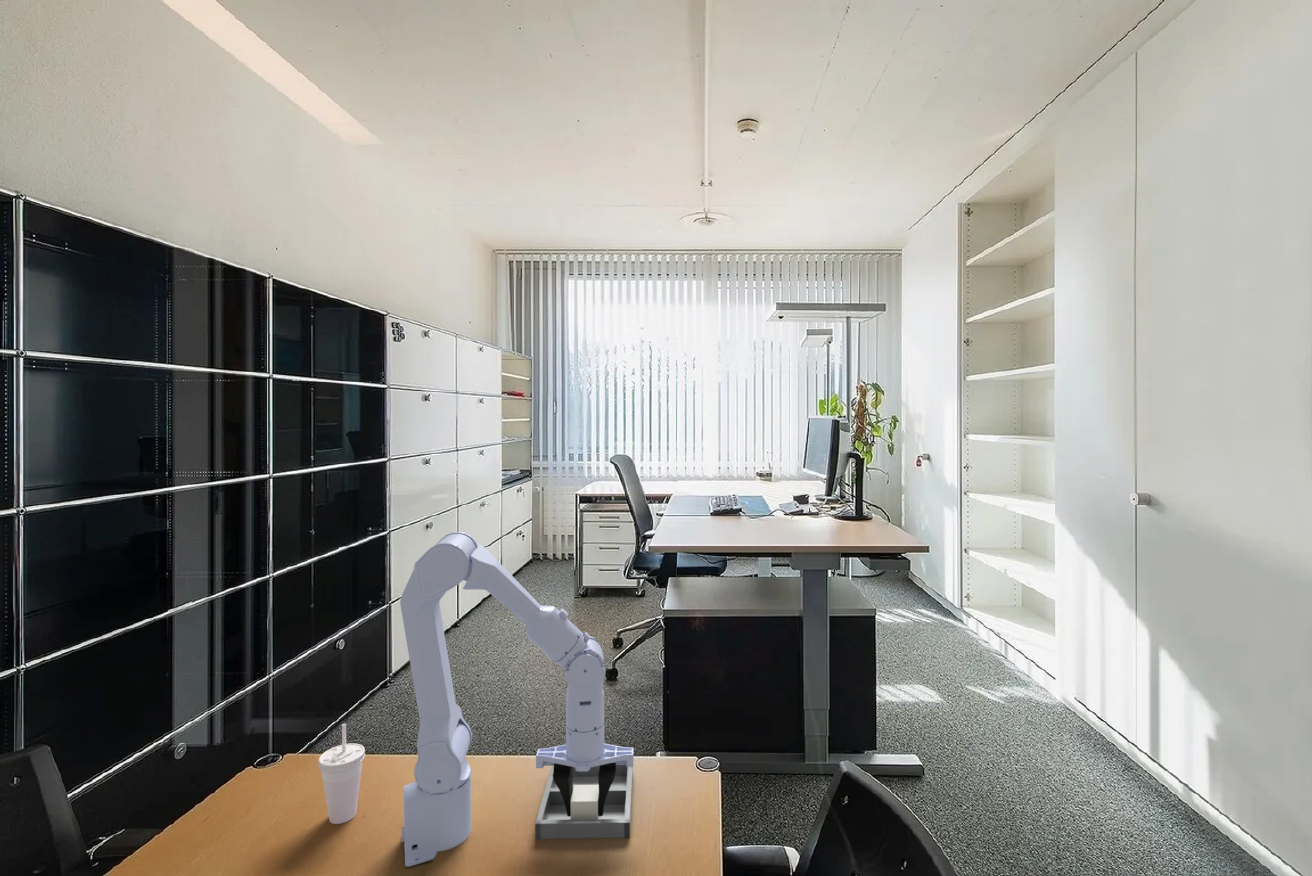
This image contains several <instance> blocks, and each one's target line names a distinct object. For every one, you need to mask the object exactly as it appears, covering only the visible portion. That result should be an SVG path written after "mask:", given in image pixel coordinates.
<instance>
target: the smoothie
mask: <svg viewBox="0 0 1312 876" xmlns="http://www.w3.org/2000/svg"><path fill="white" fill-rule="evenodd" d="M365 752H366V749H365V747H364V746H363V744H359V743H350V742H349V743H347V723H342V724H341V744H339V745H337V746H333V747H331V748H329V749H327V750H326V751H324V752H322V754H321V755H320V756H319V757H318V765H317V768H318V769H319V770H320V771H321V778H322V783H323V789H324V796H325V800H326V801H325V802H326V808H327V815H328V819H329V820H328V821H329V823H331V824H334V825H338V824H339V825H340V824H345V823H347V822H348V821H350V820H352V819H353V818H355V816H356V815H357V810H358V802H359V795H360V794H359V793H360V785H361V777H362V768H363V760H365V757H366V753H365Z"/></svg>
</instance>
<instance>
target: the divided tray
mask: <svg viewBox="0 0 1312 876" xmlns="http://www.w3.org/2000/svg"><path fill="white" fill-rule="evenodd" d="M599 768H600V765H599V766H595V767H590V770H589V771H576V769H575V767H573V788H574V785H599V782H598V774H599ZM549 771H550V772H549V773H548V778H547V782H546V785H545V789H544V792H543V796H542V799H541V803H540V806H539V809H538V812H537V815H536V820H535V822H534V827H535V828H534V830H535V831H534V832H535V833H534V834H535V835H534V837H535V838H534V839H535V840H567V839H568V840H569V839H570V840H571V839H572V840H579V839H580V840H581V839H586V840H587V839H588V840H589V839H630V838H631V821H632V801H633V800H632V799H633V778H634V777H633V776H634V766H633V767H626V765H616V774H615V778H614V781H613V783H612V784H611V787H610V789H609V791H608V794H607V797H606V800H605V804H604V811H603V816H599V819H577V820H571V816H567V811H566V807H565V803H564V800H563V797H562V795H561V792H560V790H559V789H558V787H557V785H556V784H555V782H554V780H553V772H554V766H550V770H549Z"/></svg>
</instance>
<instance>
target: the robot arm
mask: <svg viewBox="0 0 1312 876" xmlns="http://www.w3.org/2000/svg"><path fill="white" fill-rule="evenodd" d="M463 581H464V582H465V584H464V585H463V587H462V589H463V590H480V591H481V590H482V591H483V590H485V591H487V592H488V593H489V594H490V595H491V596H492V597H494V598H495V599H496V600H497V601H498V602H500V603H501V604H502V606H505V608H507V609H508V610H509V611H510V612H512V614H514V615H515V616H517V618H519V620H521V621H522V623H524V624H525V626H526V627H525V629H526V630H525V631H526V633H525V635H526V637H527V638H528V639H529V640H530V641H531V642H532V643H533V644H534V645H536V647H538V649H539V650H540V651H542V652H543V653H544V654H545V655H546V656H547V657H548V658H549V659H550V660H551V661H552V662H554V663H555V664H556V665H557V666H559V667H561V668H563V669H565V670H564V671H563V673H564V678H565V681H566V683H567V691H566V693H565V744H562V745H556V746H552V747H546V748H538V749H537V752H536V755H535V768H536V769H543V768H544V767H545V766H546V767H549V766H550V767H552V766H554V772H553V780H554V782H555V784H556V785H557V787H558V789H559V790H560V792H561V795H562V797H563V800H564V803H565V807H566V811H567V816H571V797H572V792H573V767H575V769H576V771H589V770H590V767H595V766H599V765H600V768H599V774H598V782H599V805H598V816H603V811H604V804H605V800H606V797H607V794H608V791H609V789H610V787H611V784H612V783H613V781H614V778H615V774H616V765H626V767H633V768H634V765H635V764H634V762H635V760H634V758H635V755H634V751H635V748H634V747H627V746H626V747H625V746H619V745H615V744H614V745H613V744H609V743H605V692H604V679H605V676H606V672H607V670H606V668H605V657H604V652H603V649H602V646H601V645H600V643H599V642H598V640H597V638H595V637H593V636H591V635H590V634H589V633H588V632H587V631H584V633H583V632H582V631H581V630H580V629H579V628H578V627H577V625H575V624H574V623H573V622H571V621H570V620H569V619H568V617H569V613H568V611H566V610H565V609H564V608H561V609H558V608H557V607H555V606H554V605H542V604H540V603H539V601H537V600H536V599H535V598H534V597H533V595H531V594H530V593H529V592H528V591H527V589H525V587H524V586H523V585H522V584H520V582H519V581H518V580H517V579H516V578H515V577H514V576H513V575H512V574H511V573H510V572H509V571H508V570H507V569H506V568H505V567H504V565H502V564H501V563H500V562H499V560H498V559H497V558H496V557H495V556H494V555H493V554H492V553H491V552H490V551H489V550H488V549H487V548H486V547H484V546H483V545H482V544H477V542H476V540H475V539H474V538H473V537H472V536H471V535H470V534H467V532H463V531H454V532H449V533H448V534H446V535H444V536H443V537H442V538H441V539H440V540H439V541H438V542H436V544H434V545H433V546H431V547H430V548H429V549H427V551H425V552H424V554H423V555H421V557H419V559H417V561H416V562H415V563H414V566H413V570H412V572H411V575H410V577H409V579H408V581H407V583H406V585H405V588H404V589H403V592H402V593H401V597H400V599H399V600H400V604H399V605H400V610H401V615H402V616H401V617H402V623H403V628H404V633H405V634H404V635H405V640H406V645H407V646H406V647H407V651H408V652H407V653H408V657H409V664H410V670H411V677H412V681H413V688H414V693H415V694H414V695H415V699H416V705H417V711H418V716H419V725H418V726H419V727H418V734H417V741H416V749H417V760H416V763H415V765H414V770H413V773H414V774H413V776H414V779H415V781H413V782H411V783H408V784H406V785H403V826H402V827H401V843H404V865H405V867H406V868H409V867H413V866H417V865H420V864H423V863H427V862H430V861H433V860H435V857H436V856H437V854H438V852H443V851H449V850H450V849H453V848H455V847H457V846H459V845H461V844H462V843H464V842H465V840H467V838H469V836H470V834H471V833H472V777H471V776H472V772H471V771H472V769H471V765H470V764H469V762H468V760H467V758H466V756H467V753H468V751H469V749H470V747H471V745H472V740H473V734H472V733H473V732H472V729H471V728H470V726H469V724H468V723H467V722H466V720H465V719H464V717H463V712H462V708H461V707H460V706H459V705H458V704H457V702H456V697H455V690H454V683H453V678H452V671H451V666H450V661H449V660H450V659H449V652H448V647H447V642H446V636H445V630H444V623H443V617H442V611H441V606H440V602H441V599H442V598H444V596H445V594H447V592H448V591H450V590H452V589H453V588H455V587H456V586H458V585H459V584H460V583H462V582H463Z"/></svg>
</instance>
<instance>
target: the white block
mask: <svg viewBox="0 0 1312 876" xmlns="http://www.w3.org/2000/svg"><path fill="white" fill-rule="evenodd" d="M598 805H599V785H574V788H573V792H572V797H571V820H577V819H599V816H598Z"/></svg>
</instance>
